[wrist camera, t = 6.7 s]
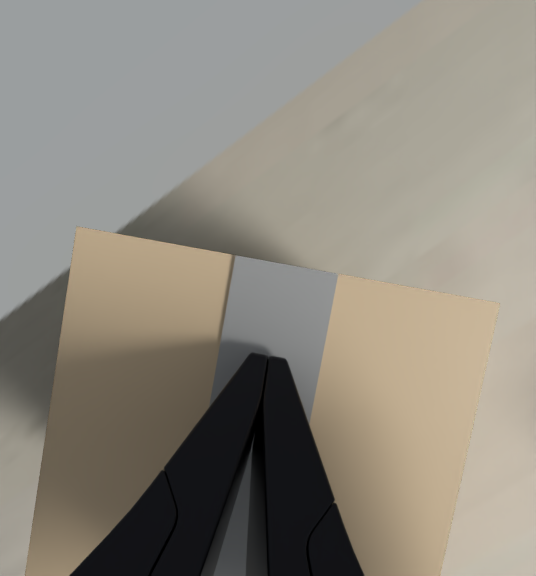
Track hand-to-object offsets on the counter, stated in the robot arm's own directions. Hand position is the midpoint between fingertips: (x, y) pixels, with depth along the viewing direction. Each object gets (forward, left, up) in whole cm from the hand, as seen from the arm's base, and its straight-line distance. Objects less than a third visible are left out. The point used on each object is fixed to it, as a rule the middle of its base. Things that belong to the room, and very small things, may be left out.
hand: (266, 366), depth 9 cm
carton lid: (-2, 0, -2) cm, 3 cm away
